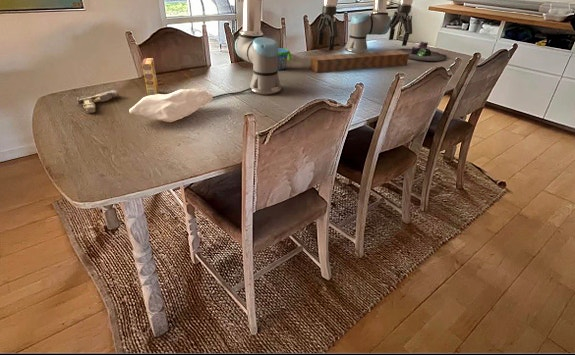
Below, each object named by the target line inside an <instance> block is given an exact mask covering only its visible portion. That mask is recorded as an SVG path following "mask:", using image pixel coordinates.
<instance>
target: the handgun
mask: <svg viewBox="0 0 575 355" xmlns="http://www.w3.org/2000/svg"><path fill="white" fill-rule="evenodd" d="M119 96H120V94H119V92H118V91H117V90H116V89H112V90H108V91H105V92H104V91H103V92H101V93H96V94H94V95H86V94H85V95H84V94H83V95H81V96H80V97H77V98H76V101H77V104H78V105H82V108H83V109H84V110H85V113H87V114H91V113H95V112H96V104H95V103H98V102H106V101H109V100H111V99H113V98H117V97H119Z"/></svg>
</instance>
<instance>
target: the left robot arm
mask: <svg viewBox="0 0 575 355" xmlns="http://www.w3.org/2000/svg"><path fill="white" fill-rule="evenodd" d="M242 1H243V2H242V28H241V29H240V30H239V32H238V37H237V38H236V40H235V42H234V50H235V53H236V54H237V56H238V57H239V58H240V59H241V60H243V61H245V62H248V63H250V64H252V69H253V70H252V77H251V81H250V83H249V88H246V89H243V90H241V91H235V92H227V93H226V92H225V93H221V94H218V95H215V96H213V98H212V100H213V99H216V98H219V97H223V96H229V95H238V94H242V93H245V92H248V91H250V92H251V93H253V94H255V95H261V96H271V95H277V94H279V93H281V92H282V85H281V81H280V78H279V69H278V52H279V50H278V48H279V44H278V42H277V41H276V40H275V39H273V38H270V37H265V36H264V33H263V31H262V30H261V24H262V7H263V6H262V2H263V0H242ZM338 1H339V0H322V5H323V6H322V10H321V14H320V18H319V21H318V25H317V29H316V31H317V32H318V36H317V45H318V46H323V40H324V34H325V29H326V27H328V31H329V41H328V51H334V49H335V48H334V47H335V39H336V38H338V25H337V17H335V16H336V14H337V9H338Z"/></svg>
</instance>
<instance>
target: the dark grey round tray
mask: <svg viewBox="0 0 575 355" xmlns="http://www.w3.org/2000/svg"><path fill="white" fill-rule="evenodd" d="M428 46H429V42H427V41H420V43H419V45H417V47H416V46H412V47H411V48H398V49H395V50H394V51H398V50H401V51H403V52H406V53H408V54H409V58H408V59H411V60H415V61H416V60H417V61H425V62H437V61H443V60H447V55H446V54H444V53H440V52H438V51H433V50H431V48H428Z"/></svg>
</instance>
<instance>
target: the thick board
mask: <svg viewBox="0 0 575 355" xmlns="http://www.w3.org/2000/svg"><path fill="white" fill-rule="evenodd" d="M397 50H398V49H397ZM409 59H410V58H409V54H408V53H406V52H403V51H401V50H398V51H395V50H384V51H370V52H368V51H367V52H363V53H355V52H352V53H339V54H325V55H324V54H322V55H311V56H310V65H309V66H310V69H311V70H312V71H314V72H315V73H326V72H327V73H328V72H337V71H338V72H339V71H351V70H363V69H376V68H389V67H398V66H399V67H400V66H407V65H408V61H409Z"/></svg>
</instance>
